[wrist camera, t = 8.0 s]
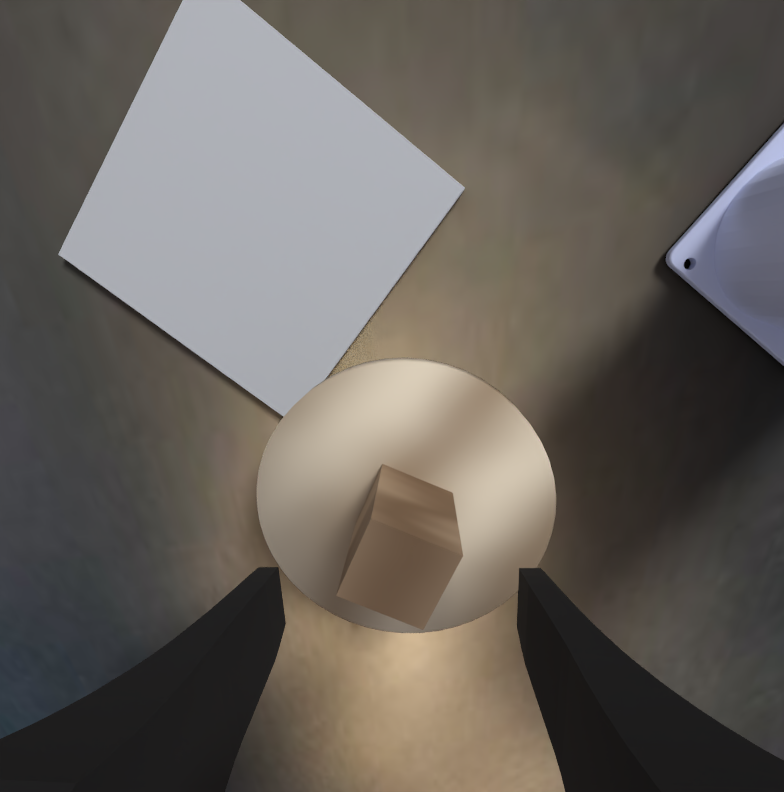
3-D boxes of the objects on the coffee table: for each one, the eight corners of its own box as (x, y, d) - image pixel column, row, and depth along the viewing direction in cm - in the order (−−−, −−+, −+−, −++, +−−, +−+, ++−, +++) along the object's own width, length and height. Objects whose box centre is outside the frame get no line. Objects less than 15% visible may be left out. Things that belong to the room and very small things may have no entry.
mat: (463, 190, 19) (465, 187, 18) (295, 420, 22) (292, 423, 22) (205, -25, 17) (199, -34, 17) (66, 255, 21) (58, 254, 20)
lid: (603, 429, 16) (680, 487, 11) (472, 651, 19) (489, 772, 15) (320, 308, 16) (277, 317, 11) (231, 556, 19) (167, 648, 14)
